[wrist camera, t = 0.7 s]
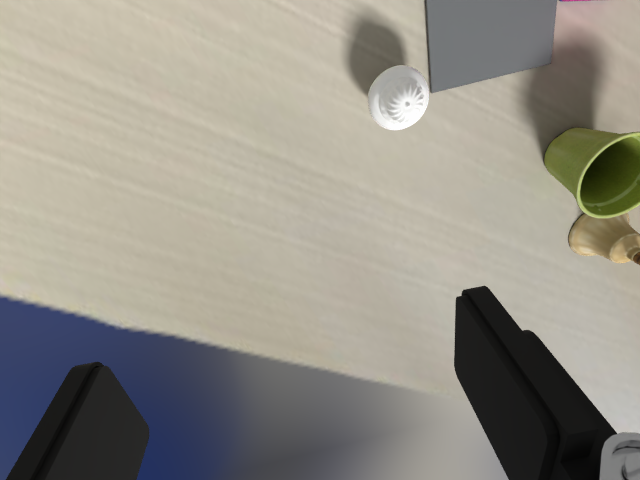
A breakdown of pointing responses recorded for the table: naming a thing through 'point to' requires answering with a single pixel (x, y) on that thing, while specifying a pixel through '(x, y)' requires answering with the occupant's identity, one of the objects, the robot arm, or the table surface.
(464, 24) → the mat
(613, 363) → the table surface
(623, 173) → the plant pot
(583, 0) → the supplement box
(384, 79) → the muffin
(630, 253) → the hand bell
